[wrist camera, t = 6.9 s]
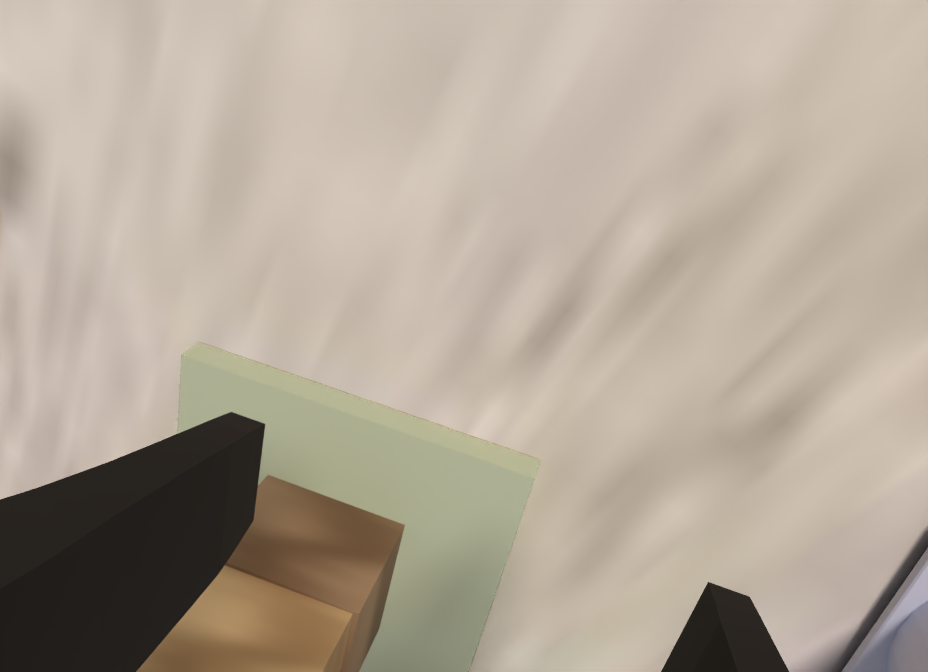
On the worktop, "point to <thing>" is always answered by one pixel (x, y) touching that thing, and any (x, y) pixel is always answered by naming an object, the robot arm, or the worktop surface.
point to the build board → (384, 495)
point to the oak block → (253, 631)
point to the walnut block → (323, 555)
